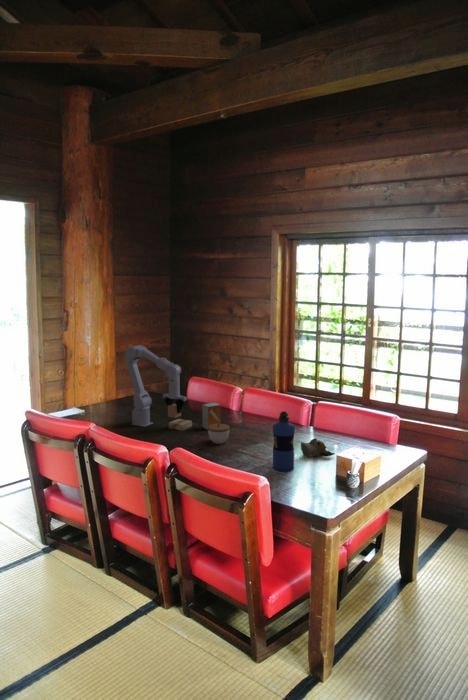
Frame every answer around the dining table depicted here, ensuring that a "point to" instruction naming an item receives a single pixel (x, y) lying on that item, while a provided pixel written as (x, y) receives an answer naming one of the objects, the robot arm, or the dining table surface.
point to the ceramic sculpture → (315, 449)
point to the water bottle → (283, 444)
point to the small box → (211, 414)
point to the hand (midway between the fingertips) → (174, 412)
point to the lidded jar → (218, 432)
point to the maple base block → (180, 424)
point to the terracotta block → (173, 411)
